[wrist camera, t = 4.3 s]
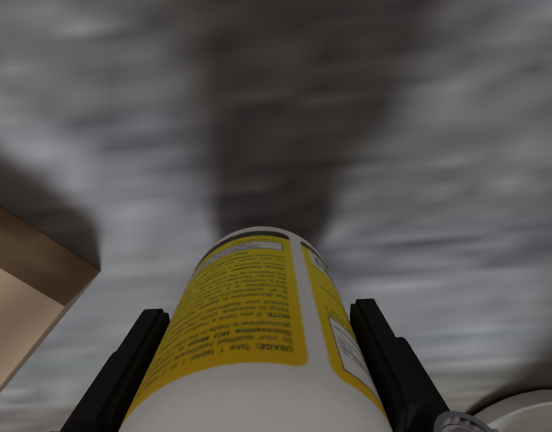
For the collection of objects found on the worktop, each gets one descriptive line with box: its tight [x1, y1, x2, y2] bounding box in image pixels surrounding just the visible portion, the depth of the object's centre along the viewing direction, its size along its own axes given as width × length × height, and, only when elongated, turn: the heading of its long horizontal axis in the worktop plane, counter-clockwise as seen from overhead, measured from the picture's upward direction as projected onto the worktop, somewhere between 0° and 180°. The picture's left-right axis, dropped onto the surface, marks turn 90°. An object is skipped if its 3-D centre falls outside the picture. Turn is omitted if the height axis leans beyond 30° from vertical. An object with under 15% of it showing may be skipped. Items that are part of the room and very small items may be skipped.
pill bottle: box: [118, 226, 393, 432], centre depth 8 cm, size 6×6×11 cm
